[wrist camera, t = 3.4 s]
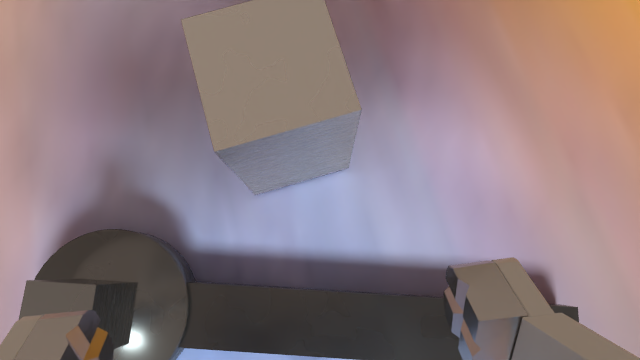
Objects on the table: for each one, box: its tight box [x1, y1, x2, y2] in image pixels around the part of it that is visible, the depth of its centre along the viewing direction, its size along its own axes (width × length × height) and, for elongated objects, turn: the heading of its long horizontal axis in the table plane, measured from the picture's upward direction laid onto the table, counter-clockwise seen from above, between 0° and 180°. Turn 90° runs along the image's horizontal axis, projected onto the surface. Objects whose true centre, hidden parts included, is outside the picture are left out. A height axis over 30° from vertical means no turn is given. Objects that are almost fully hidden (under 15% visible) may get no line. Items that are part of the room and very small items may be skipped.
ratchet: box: [19, 229, 579, 360], centre depth 17 cm, size 25×7×5 cm, turn 87°
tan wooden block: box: [181, 0, 362, 195], centre depth 18 cm, size 5×5×8 cm
